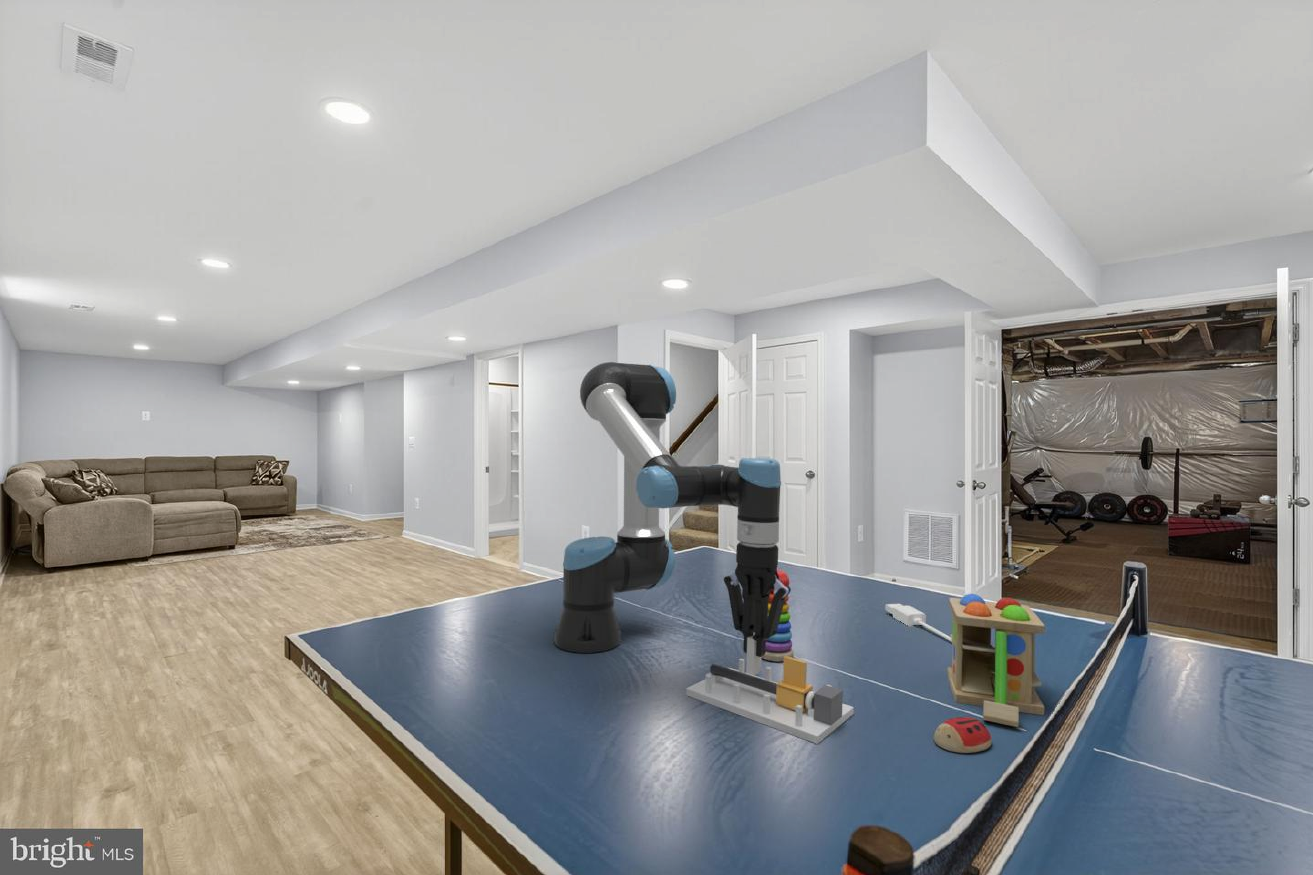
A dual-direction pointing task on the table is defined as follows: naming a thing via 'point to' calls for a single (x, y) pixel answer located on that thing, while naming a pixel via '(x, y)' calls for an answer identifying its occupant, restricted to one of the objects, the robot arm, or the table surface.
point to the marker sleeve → (793, 684)
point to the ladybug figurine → (962, 735)
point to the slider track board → (772, 702)
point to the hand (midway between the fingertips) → (753, 671)
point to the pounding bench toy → (995, 657)
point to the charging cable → (911, 617)
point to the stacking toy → (780, 629)
